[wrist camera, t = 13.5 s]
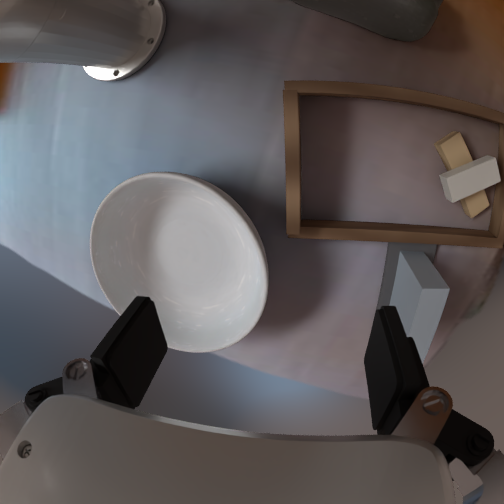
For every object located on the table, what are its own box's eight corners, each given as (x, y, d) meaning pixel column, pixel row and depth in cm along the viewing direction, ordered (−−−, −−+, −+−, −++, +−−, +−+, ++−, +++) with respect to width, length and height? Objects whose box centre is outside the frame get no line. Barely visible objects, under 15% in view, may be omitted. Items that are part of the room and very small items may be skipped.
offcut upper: (445, 198, 25) (452, 202, 23) (439, 174, 24) (446, 178, 22) (492, 177, 22) (500, 181, 20) (487, 155, 21) (495, 157, 20)
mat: (389, 236, 29) (390, 238, 29) (435, 238, 28) (437, 240, 28) (371, 329, 35) (372, 332, 34) (412, 329, 33) (413, 332, 33)
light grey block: (400, 250, 29) (422, 288, 22) (423, 251, 28) (449, 288, 21) (384, 323, 33) (396, 368, 26) (405, 323, 33) (420, 367, 25)
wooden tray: (286, 84, 25) (282, 77, 21) (506, 117, 20) (528, 119, 16) (289, 229, 31) (286, 246, 27) (492, 240, 26) (510, 255, 22)
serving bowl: (285, 170, 29) (278, 182, 23) (267, 331, 38) (258, 368, 32) (114, 161, 32) (78, 172, 26) (130, 302, 41) (106, 329, 35)
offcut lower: (431, 143, 25) (440, 145, 23) (450, 131, 23) (459, 132, 21) (463, 212, 27) (471, 218, 25) (480, 200, 25) (489, 205, 23)
